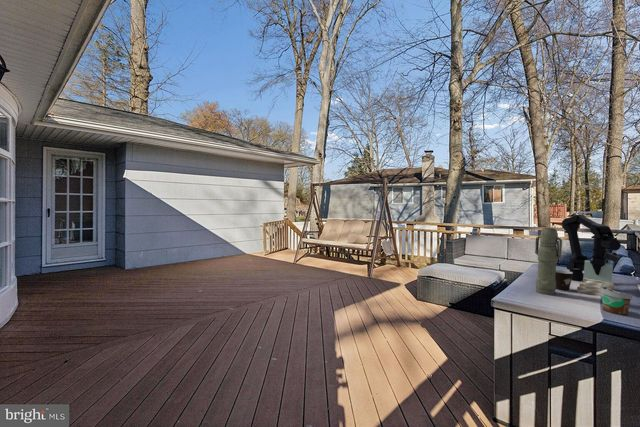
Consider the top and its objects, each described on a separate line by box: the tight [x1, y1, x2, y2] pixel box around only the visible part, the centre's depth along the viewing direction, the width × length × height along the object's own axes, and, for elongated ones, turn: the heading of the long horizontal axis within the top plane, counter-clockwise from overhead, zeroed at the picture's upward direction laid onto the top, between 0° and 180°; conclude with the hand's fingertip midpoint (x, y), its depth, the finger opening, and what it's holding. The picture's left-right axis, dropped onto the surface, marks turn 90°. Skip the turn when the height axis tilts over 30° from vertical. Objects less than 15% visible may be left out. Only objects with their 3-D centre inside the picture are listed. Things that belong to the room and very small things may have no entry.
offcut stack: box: [584, 281, 603, 291], centre depth 176 cm, size 8×6×5 cm
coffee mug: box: [555, 269, 573, 292], centre depth 181 cm, size 12×9×10 cm
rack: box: [576, 278, 615, 297], centre depth 181 cm, size 14×26×2 cm, turn 135°
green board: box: [583, 259, 614, 283], centre depth 184 cm, size 12×4×10 cm, turn 45°
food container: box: [600, 286, 633, 316], centre depth 147 cm, size 12×6×10 cm, turn 5°
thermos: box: [534, 227, 563, 296], centre depth 173 cm, size 9×12×35 cm
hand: (597, 274), depth 184 cm, fingers closed on green board, 4 cm apart
